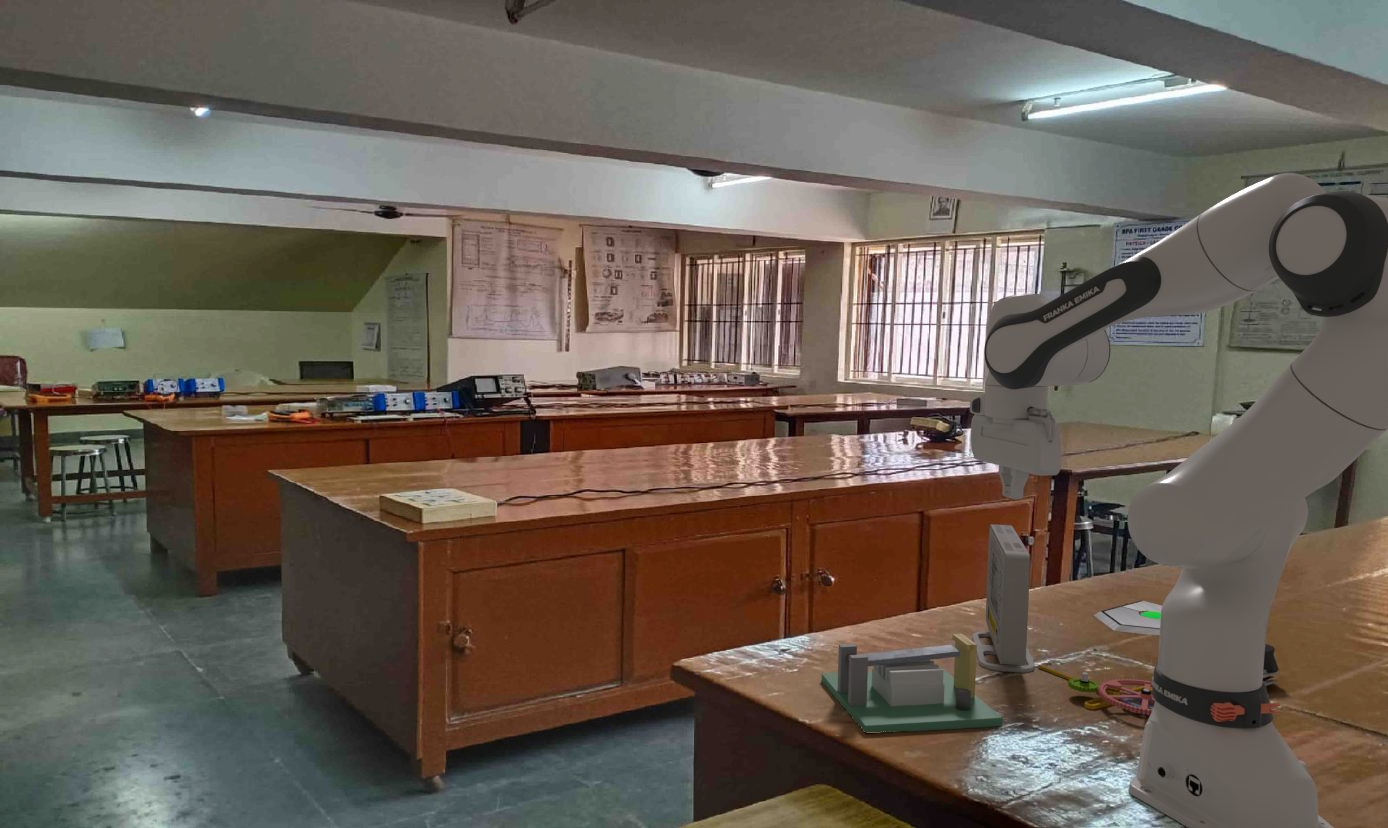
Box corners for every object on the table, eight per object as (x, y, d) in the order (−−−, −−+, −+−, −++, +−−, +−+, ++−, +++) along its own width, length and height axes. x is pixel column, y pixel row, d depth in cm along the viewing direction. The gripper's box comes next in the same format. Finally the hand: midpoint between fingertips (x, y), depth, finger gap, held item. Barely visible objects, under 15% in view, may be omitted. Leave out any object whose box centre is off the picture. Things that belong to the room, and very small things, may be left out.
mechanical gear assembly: (1183, 749, 128) (1247, 730, 136) (1186, 718, 128) (1249, 702, 136) (1006, 677, 154) (1068, 665, 162) (1008, 652, 154) (1070, 641, 161)
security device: (1069, 623, 185) (1070, 612, 184) (1134, 605, 197) (1134, 595, 197) (1154, 648, 171) (1155, 637, 171) (1218, 627, 183) (1219, 617, 183)
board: (1002, 725, 134) (1004, 661, 133) (865, 733, 131) (867, 668, 130) (941, 674, 154) (943, 618, 153) (821, 680, 151) (822, 623, 150)
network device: (1040, 680, 152) (1045, 556, 150) (982, 676, 154) (987, 553, 152) (1019, 631, 177) (1023, 524, 175) (969, 628, 179) (974, 521, 177)
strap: (960, 657, 141) (960, 650, 141) (853, 668, 139) (853, 662, 139) (951, 650, 145) (951, 643, 145) (846, 661, 142) (845, 654, 142)
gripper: (1075, 410, 133) (1071, 509, 134) (1001, 400, 153) (999, 487, 154) (1033, 410, 131) (1029, 510, 133) (964, 401, 152) (962, 487, 153)
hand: (1012, 497), depth 143 cm, fingers closed
